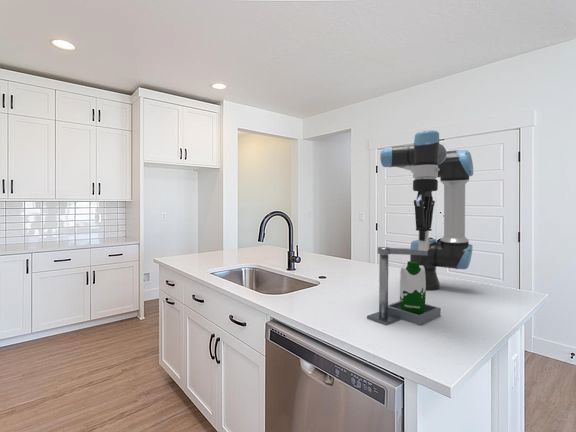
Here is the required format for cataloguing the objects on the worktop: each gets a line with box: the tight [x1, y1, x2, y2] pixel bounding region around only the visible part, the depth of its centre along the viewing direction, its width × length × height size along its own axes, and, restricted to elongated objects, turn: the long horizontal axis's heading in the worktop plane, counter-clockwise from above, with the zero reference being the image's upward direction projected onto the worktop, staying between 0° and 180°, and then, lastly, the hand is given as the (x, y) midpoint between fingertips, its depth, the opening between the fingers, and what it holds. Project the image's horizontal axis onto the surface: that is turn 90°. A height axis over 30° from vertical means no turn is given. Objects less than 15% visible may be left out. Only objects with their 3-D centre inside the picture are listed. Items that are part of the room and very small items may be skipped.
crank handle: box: [377, 237, 431, 256], centre depth 111 cm, size 17×4×6 cm, turn 74°
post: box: [366, 254, 401, 326], centre depth 113 cm, size 8×8×23 cm
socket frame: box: [388, 300, 442, 326], centre depth 118 cm, size 14×14×3 cm
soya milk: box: [399, 261, 427, 315], centre depth 118 cm, size 9×9×20 cm
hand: (423, 250), depth 106 cm, fingers closed
